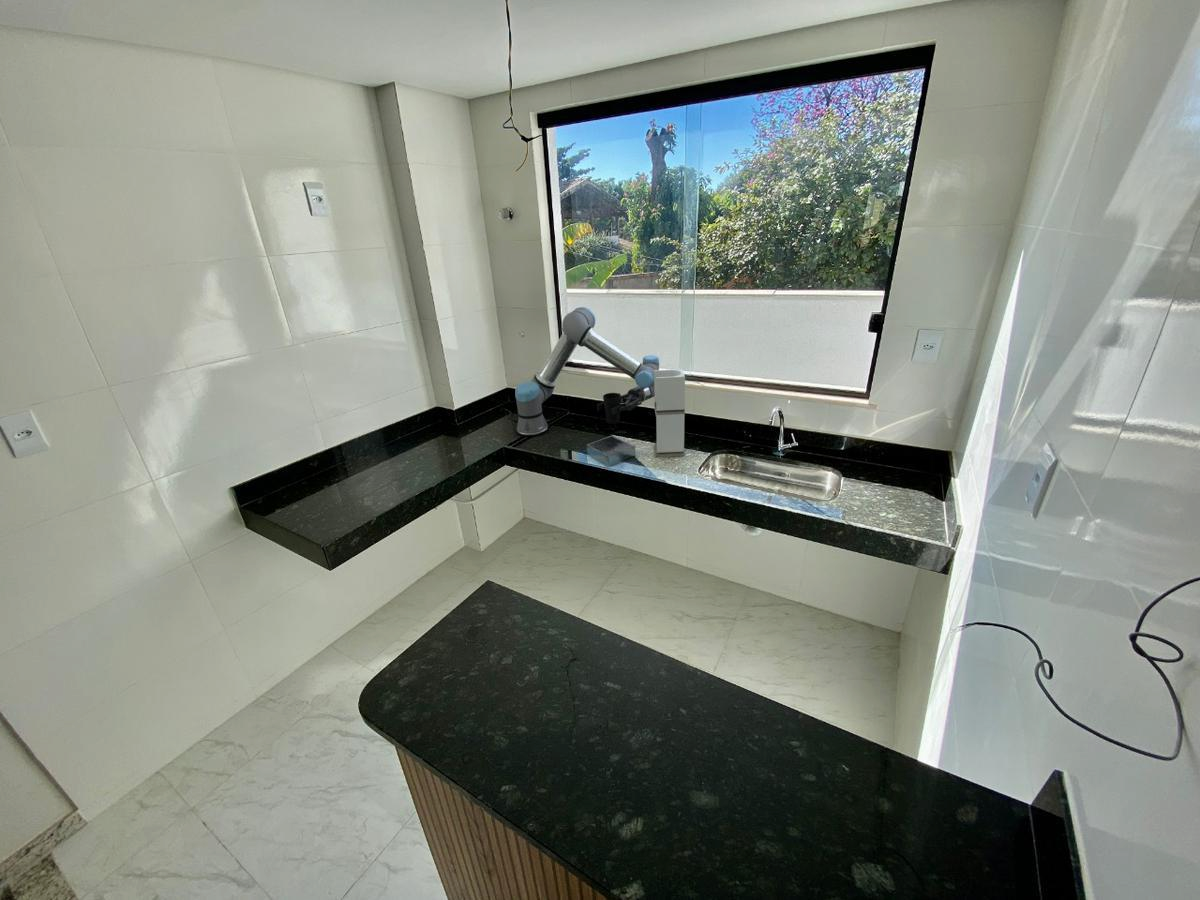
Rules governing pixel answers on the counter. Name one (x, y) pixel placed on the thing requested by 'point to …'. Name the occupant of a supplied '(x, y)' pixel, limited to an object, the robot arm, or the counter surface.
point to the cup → (611, 406)
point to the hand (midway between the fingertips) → (604, 409)
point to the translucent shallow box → (610, 450)
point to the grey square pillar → (669, 411)
